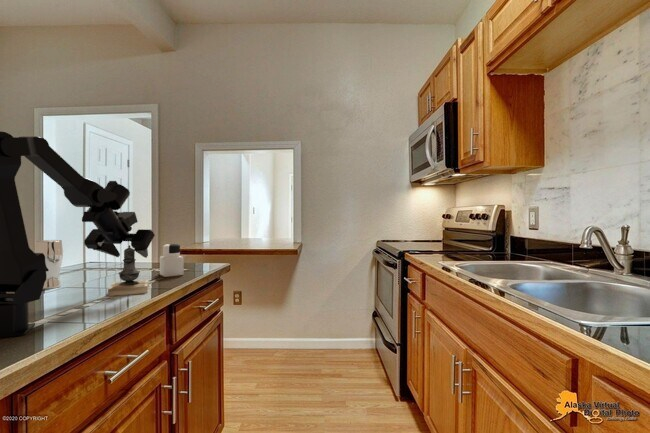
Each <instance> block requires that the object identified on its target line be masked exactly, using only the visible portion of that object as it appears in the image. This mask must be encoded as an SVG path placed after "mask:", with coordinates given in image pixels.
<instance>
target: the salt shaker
mask: <svg viewBox="0 0 650 433" xmlns="http://www.w3.org/2000/svg"><path fill="white" fill-rule="evenodd" d="M134 249H135V248H133V247H132V246H131V244H129V245H128V246H127V248H125V249H124V251H123V259H122V262H123V267H122V268H123V269H122V270H121V271H120V272H118V273H117V274H118V275H119V278H120V280H121V282H122V283H120V284H119V285H121V286H129V285H136V284H139V282H137V281H138V280H137V279H138V278H139V276H140V273H141V271H140V270H137V269H136V261H137V259H136V258H135V252H136V251H134Z"/></svg>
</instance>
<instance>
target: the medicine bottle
mask: <svg viewBox="0 0 650 433" xmlns="http://www.w3.org/2000/svg"><path fill="white" fill-rule="evenodd" d="M184 262H185V261H184V256H181V245H179V243H177V244H176V243H167V244H164V245H163V246H162V255H161V256H159V275H160V276H162V277H164V278H166V277H178V276H183V275H184Z"/></svg>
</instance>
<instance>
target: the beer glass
mask: <svg viewBox="0 0 650 433" xmlns="http://www.w3.org/2000/svg"><path fill="white" fill-rule="evenodd" d="M63 252H64V251H63V242H62V240H61V239H48V240H47V239H45V240H36V241H35V246H34V253H43V254H44V256H45V262H46V267H47V268H48V270H49V271H46V275H47V278H46V281H45V283H44V286H43V290H50V289H56V288H60V287H61V286H62V284H61V279H60V272H61V267H62V263H63Z"/></svg>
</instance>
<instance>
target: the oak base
mask: <svg viewBox="0 0 650 433" xmlns="http://www.w3.org/2000/svg"><path fill="white" fill-rule="evenodd" d="M136 281H137V282H139V284H136V285H129V286H121V285H119V284H120V283H122V282H123V281H118V282H117V281H116V282H112V283H111V284H110V286H109V287H108V289H107V296H108V297H112V296H114V297H115V296H124V295H136V294H138V295H139V294H147V293H148V291H149V287H150V282H149V281H150V279H149V280H146V279H144V280H136Z"/></svg>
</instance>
